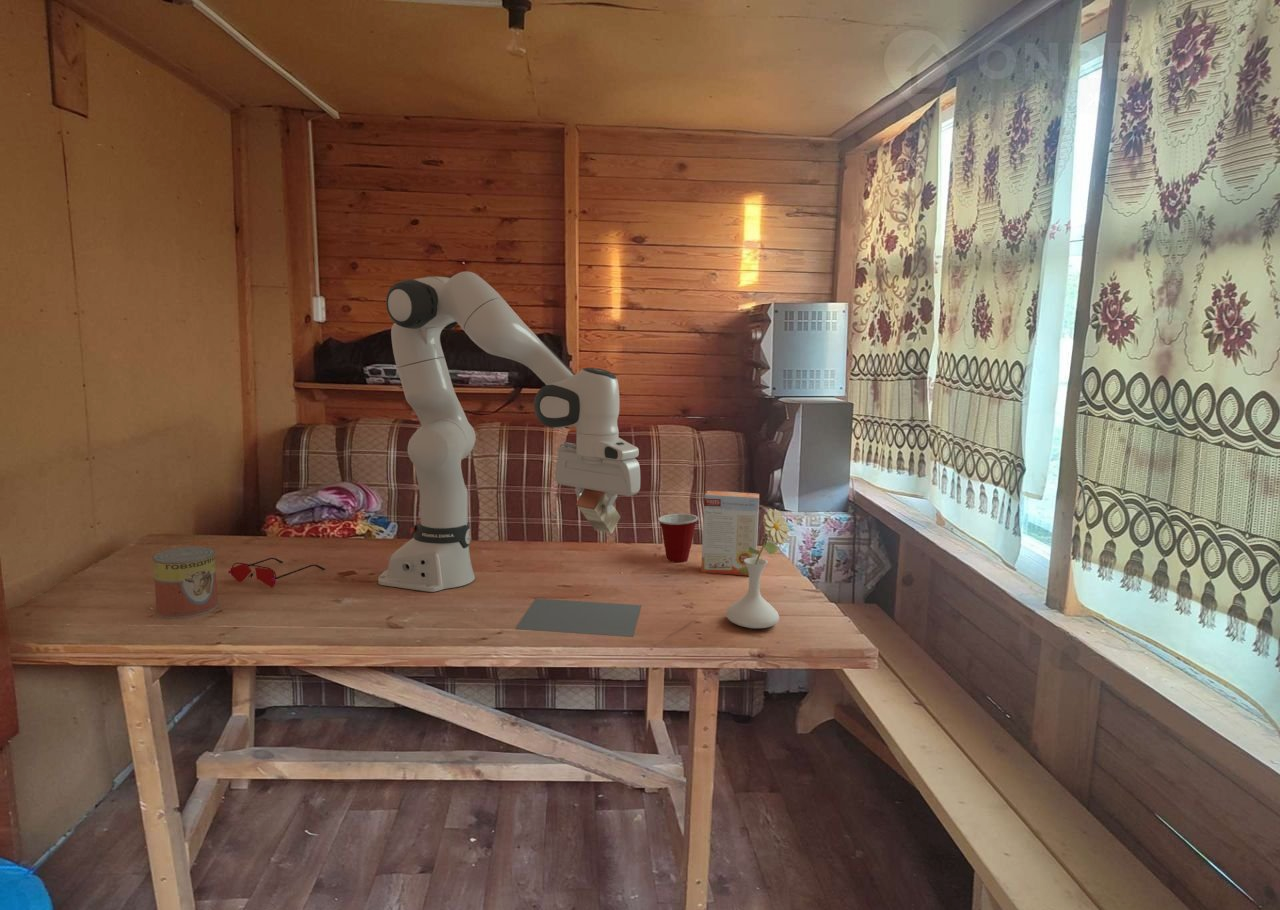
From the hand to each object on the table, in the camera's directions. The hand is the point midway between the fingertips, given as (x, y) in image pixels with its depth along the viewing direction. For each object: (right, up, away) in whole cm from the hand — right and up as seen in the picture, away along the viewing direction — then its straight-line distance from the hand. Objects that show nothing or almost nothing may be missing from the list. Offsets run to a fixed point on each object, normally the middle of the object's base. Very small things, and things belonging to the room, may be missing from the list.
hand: (595, 510), depth 161 cm
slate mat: (-3, -23, 0) cm, 24 cm away
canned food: (-86, -21, -1) cm, 89 cm away
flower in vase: (+34, -24, +2) cm, 42 cm away
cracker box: (+33, -19, +36) cm, 52 cm away
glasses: (-78, -18, +23) cm, 84 cm away
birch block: (+2, -3, +4) cm, 6 cm away
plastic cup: (+19, -17, +46) cm, 52 cm away
